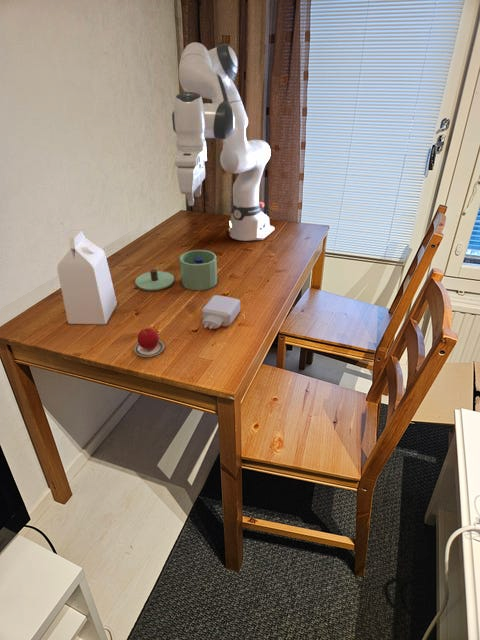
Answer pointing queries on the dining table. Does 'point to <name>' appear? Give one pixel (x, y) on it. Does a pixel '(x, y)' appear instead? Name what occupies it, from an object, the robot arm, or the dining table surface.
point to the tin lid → (154, 280)
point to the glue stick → (198, 260)
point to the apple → (148, 343)
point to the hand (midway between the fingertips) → (194, 200)
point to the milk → (86, 283)
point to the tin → (198, 270)
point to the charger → (220, 311)
